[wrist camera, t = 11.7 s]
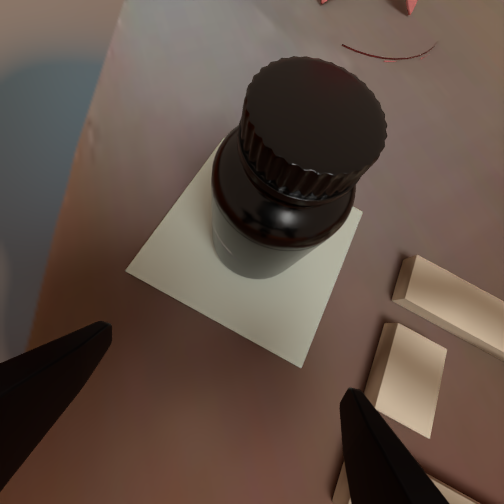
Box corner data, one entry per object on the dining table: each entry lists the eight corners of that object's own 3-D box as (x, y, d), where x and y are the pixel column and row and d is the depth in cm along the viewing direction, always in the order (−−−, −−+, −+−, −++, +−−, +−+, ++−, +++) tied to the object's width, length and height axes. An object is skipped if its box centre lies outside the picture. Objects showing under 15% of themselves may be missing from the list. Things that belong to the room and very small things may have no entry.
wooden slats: (591, 647, 15) (632, 681, 13) (331, 501, 15) (344, 519, 13) (588, 360, 21) (616, 362, 19) (403, 259, 21) (417, 254, 19)
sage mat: (299, 367, 17) (301, 368, 16) (127, 272, 17) (124, 270, 17) (359, 214, 22) (363, 212, 21) (223, 141, 22) (224, 137, 21)
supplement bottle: (194, 251, 18) (157, 119, 6) (240, 186, 20) (274, 3, 9) (273, 299, 18) (379, 249, 6) (311, 228, 20) (439, 95, 8)
